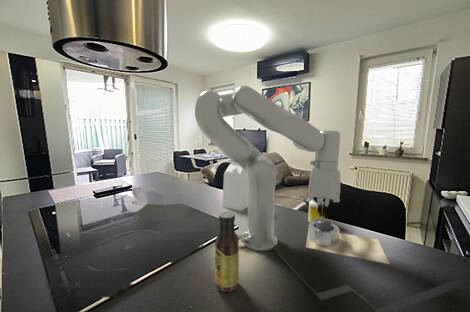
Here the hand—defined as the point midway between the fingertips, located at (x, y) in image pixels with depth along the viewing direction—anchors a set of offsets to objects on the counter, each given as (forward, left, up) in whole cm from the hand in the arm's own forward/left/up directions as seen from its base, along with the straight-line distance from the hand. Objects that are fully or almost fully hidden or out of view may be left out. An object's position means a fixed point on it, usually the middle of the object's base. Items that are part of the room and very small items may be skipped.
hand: (321, 215), depth 76 cm
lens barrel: (+1, 0, -9) cm, 9 cm away
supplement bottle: (+9, +13, -11) cm, 19 cm away
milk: (-16, +47, -11) cm, 51 cm away
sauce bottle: (-39, -10, -11) cm, 41 cm away
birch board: (+6, -5, -10) cm, 13 cm away
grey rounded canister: (+1, 0, -8) cm, 8 cm away
